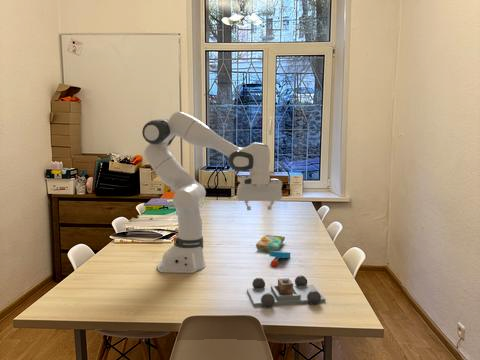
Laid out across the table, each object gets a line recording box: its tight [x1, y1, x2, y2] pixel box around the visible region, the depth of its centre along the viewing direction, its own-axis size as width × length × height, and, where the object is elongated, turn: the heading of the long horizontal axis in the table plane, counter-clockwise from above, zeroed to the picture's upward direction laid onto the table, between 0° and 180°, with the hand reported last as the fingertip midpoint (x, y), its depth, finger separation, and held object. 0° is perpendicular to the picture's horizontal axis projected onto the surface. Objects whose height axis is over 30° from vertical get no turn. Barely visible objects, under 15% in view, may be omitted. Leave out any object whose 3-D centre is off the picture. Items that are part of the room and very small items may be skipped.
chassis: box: [246, 275, 326, 308], centre depth 167 cm, size 28×17×5 cm, turn 100°
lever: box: [269, 250, 291, 268], centre depth 208 cm, size 7×7×18 cm
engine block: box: [277, 277, 294, 295], centre depth 166 cm, size 4×6×6 cm
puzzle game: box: [255, 234, 286, 253], centre depth 232 cm, size 12×5×20 cm
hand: (259, 209), depth 189 cm, fingers open, 8 cm apart
